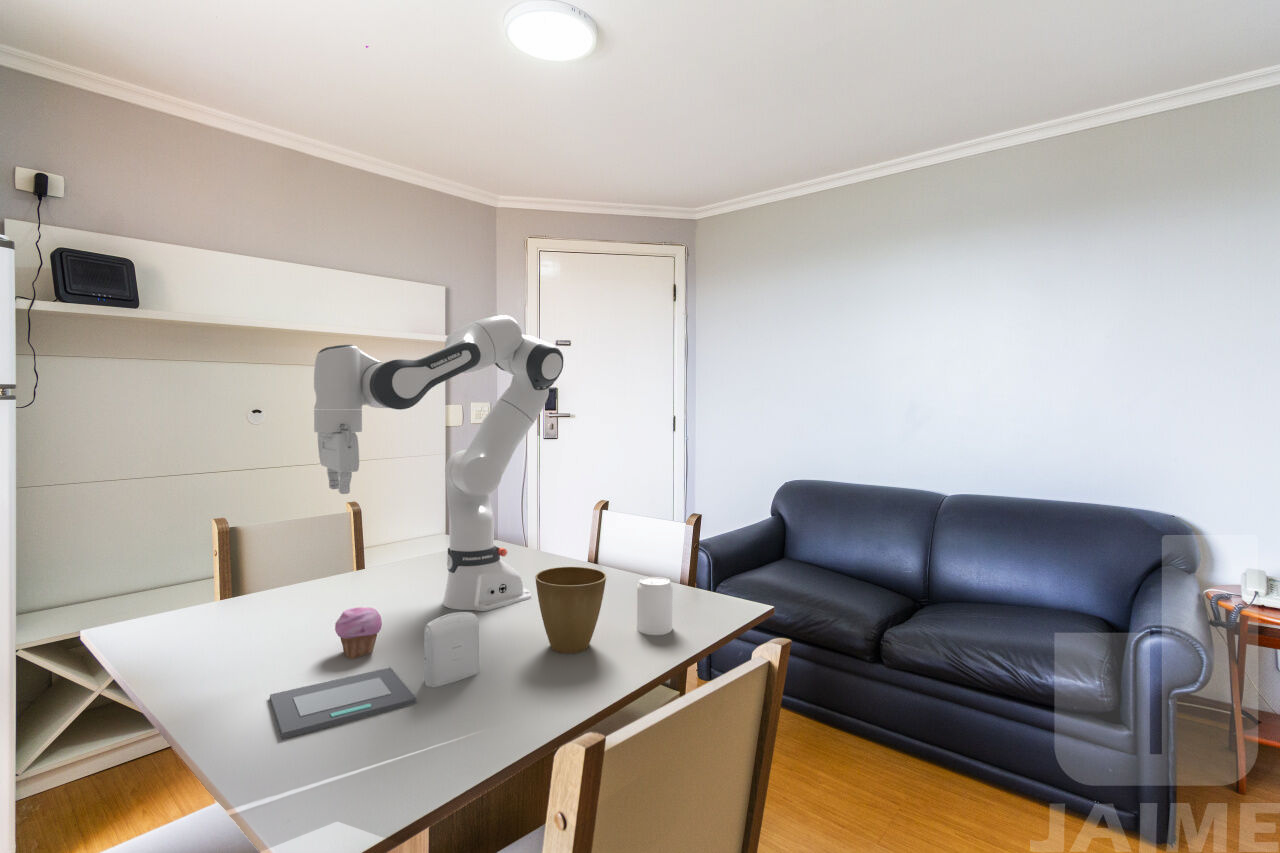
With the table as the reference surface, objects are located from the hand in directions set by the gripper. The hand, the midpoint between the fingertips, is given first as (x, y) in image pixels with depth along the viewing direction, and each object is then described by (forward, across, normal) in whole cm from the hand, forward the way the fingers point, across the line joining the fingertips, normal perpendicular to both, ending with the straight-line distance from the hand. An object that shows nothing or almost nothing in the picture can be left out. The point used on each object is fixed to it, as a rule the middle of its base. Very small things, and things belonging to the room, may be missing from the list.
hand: (339, 491), depth 128 cm
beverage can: (+34, -28, -61) cm, 75 cm away
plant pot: (+34, -26, -40) cm, 58 cm away
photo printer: (+34, -26, -14) cm, 45 cm away
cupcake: (+34, -4, -3) cm, 34 cm away
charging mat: (+34, -24, +4) cm, 41 cm away
